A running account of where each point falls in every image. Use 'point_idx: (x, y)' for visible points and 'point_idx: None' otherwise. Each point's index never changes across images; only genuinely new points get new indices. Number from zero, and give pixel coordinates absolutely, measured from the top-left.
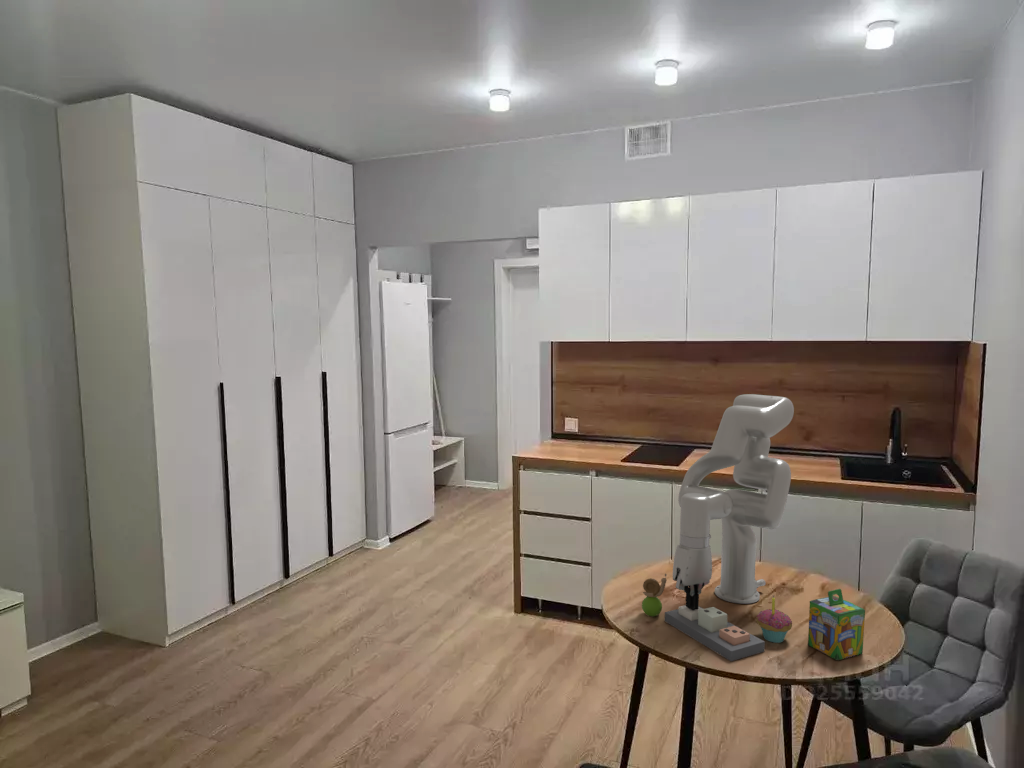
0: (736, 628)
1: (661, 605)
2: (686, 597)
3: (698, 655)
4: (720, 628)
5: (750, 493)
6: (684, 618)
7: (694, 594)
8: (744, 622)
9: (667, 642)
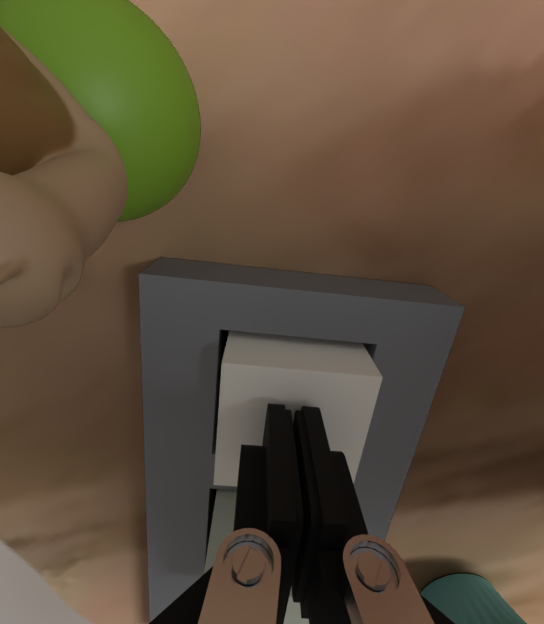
0: None
1: (148, 208)
2: (237, 503)
3: (78, 557)
4: None
5: None
6: (199, 413)
7: (302, 584)
8: (519, 479)
9: (11, 439)
